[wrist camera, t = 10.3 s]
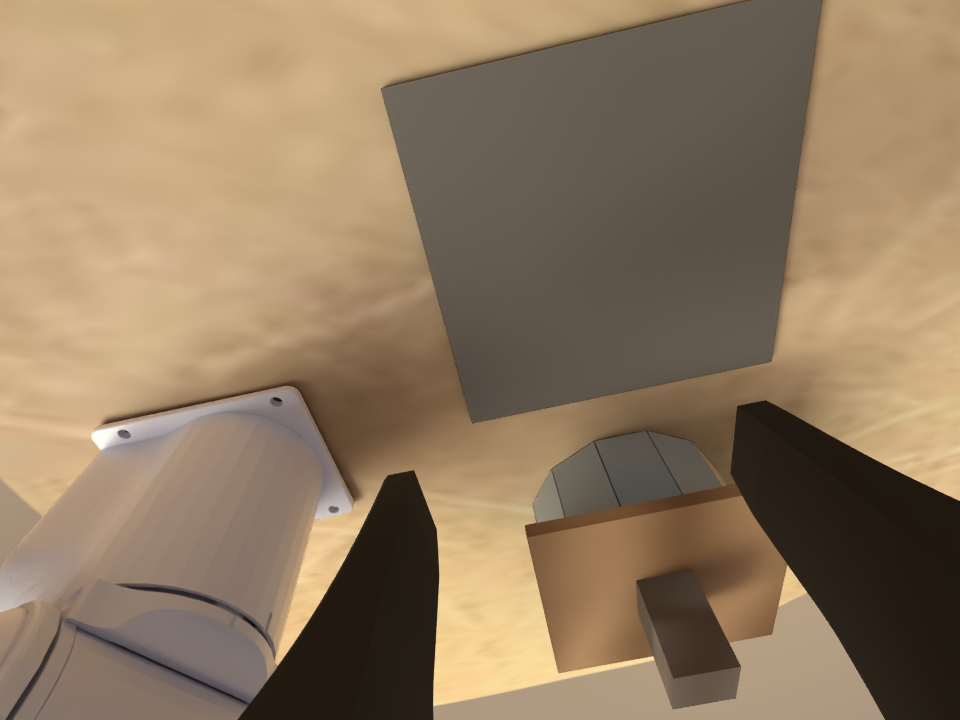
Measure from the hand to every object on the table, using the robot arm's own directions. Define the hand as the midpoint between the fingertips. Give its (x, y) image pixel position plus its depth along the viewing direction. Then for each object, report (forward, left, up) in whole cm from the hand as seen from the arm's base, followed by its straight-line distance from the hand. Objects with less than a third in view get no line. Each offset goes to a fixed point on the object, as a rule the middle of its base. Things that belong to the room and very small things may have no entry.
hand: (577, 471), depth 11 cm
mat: (+4, +1, -10) cm, 11 cm away
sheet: (+4, -14, -5) cm, 15 cm away
